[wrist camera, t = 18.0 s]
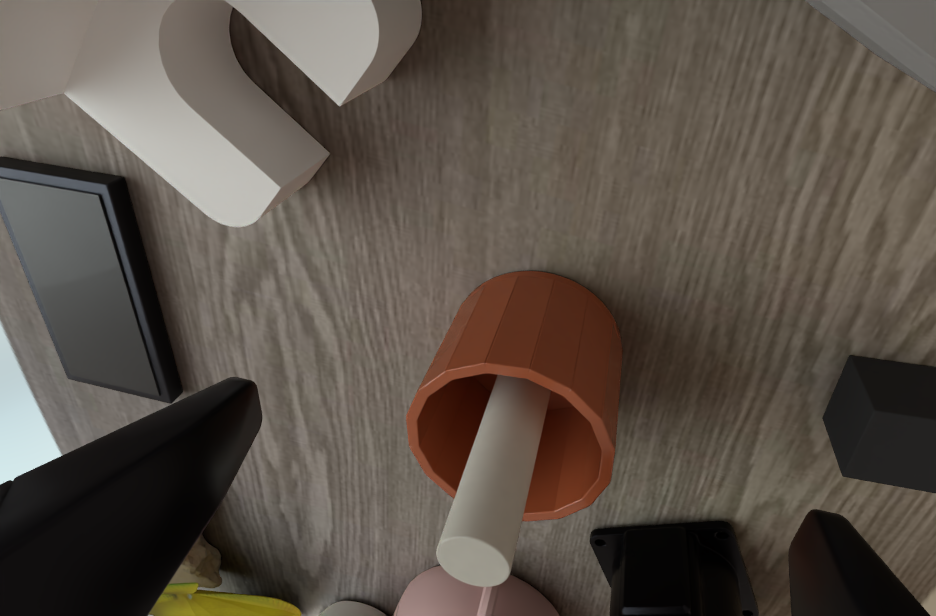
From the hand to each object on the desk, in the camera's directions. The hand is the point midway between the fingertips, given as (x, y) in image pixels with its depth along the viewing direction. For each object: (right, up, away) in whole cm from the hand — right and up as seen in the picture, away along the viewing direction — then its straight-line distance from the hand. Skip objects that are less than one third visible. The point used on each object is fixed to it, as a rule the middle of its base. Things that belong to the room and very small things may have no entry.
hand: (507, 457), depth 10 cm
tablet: (-19, +4, +19) cm, 27 cm away
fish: (-22, -17, +29) cm, 40 cm away
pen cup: (+2, +1, +15) cm, 15 cm away
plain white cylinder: (+2, +1, +14) cm, 14 cm away
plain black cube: (+14, -1, +12) cm, 19 cm away
